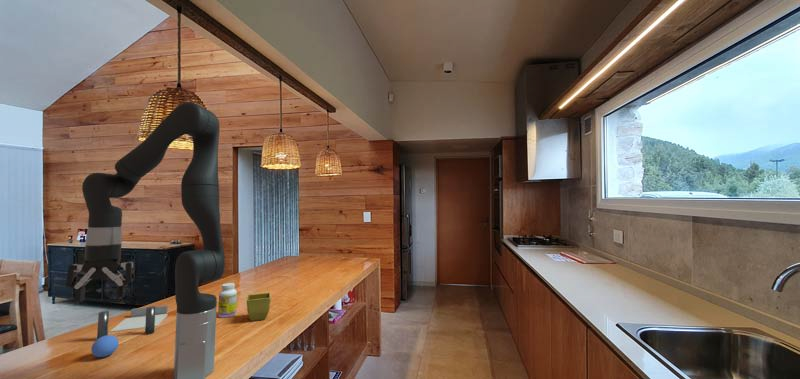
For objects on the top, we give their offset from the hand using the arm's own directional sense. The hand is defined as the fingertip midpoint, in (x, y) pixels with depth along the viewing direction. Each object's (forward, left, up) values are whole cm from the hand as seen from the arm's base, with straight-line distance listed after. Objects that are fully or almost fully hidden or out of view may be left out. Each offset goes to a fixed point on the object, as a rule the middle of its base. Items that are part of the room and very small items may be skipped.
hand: (100, 300), depth 88 cm
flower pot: (+25, -41, -19) cm, 51 cm away
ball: (+8, +1, -16) cm, 18 cm away
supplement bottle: (+34, -29, -19) cm, 48 cm away
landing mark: (+38, +1, -19) cm, 42 cm away
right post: (+24, -5, -19) cm, 31 cm away
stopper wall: (+47, +1, -19) cm, 51 cm away
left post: (+24, +8, -19) cm, 31 cm away
